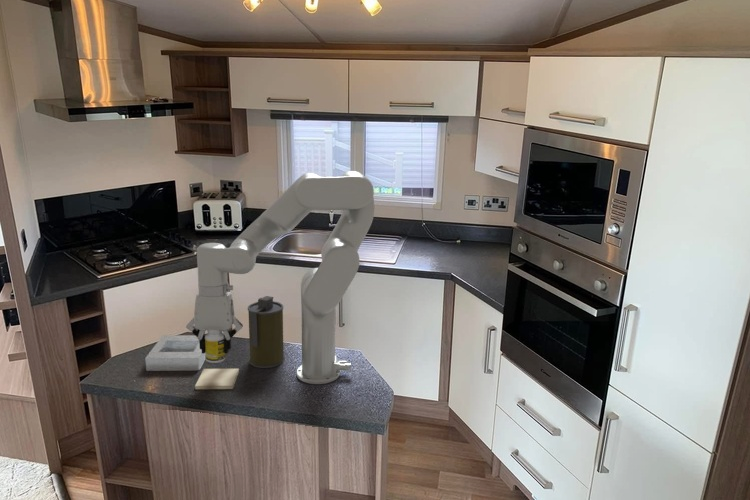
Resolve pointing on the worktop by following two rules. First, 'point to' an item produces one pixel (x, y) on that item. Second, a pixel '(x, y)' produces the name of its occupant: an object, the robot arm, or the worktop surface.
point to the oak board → (217, 379)
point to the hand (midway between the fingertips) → (215, 350)
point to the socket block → (175, 354)
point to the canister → (266, 333)
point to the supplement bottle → (214, 346)
